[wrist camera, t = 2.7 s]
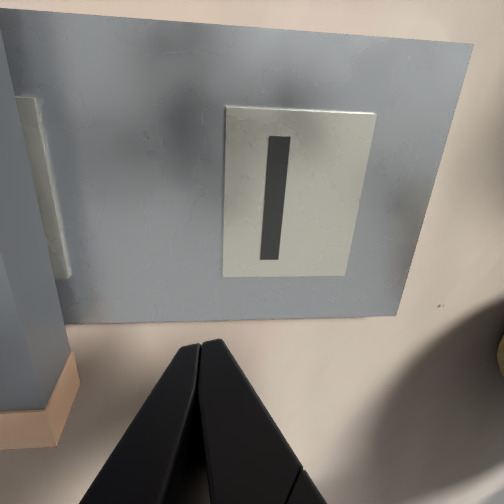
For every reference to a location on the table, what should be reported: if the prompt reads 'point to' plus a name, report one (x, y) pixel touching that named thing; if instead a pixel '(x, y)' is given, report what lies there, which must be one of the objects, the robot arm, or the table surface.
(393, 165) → the panel
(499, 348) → the ceramic jug
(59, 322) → the swing bar
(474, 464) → the table surface
